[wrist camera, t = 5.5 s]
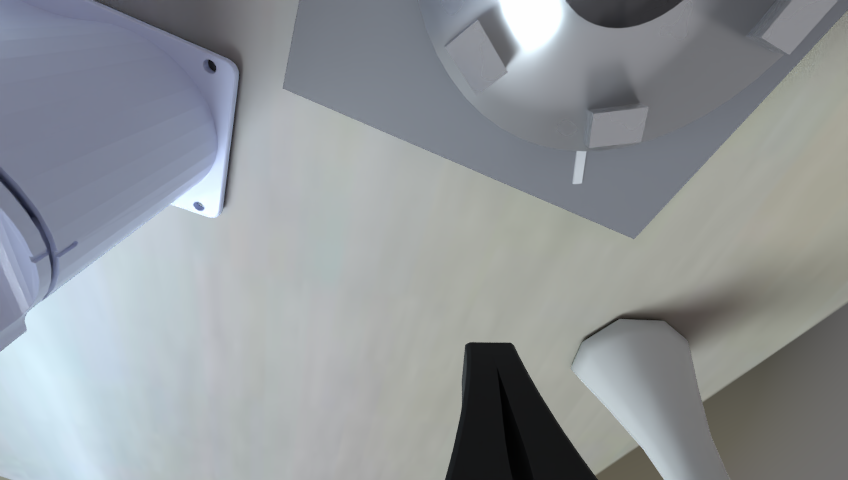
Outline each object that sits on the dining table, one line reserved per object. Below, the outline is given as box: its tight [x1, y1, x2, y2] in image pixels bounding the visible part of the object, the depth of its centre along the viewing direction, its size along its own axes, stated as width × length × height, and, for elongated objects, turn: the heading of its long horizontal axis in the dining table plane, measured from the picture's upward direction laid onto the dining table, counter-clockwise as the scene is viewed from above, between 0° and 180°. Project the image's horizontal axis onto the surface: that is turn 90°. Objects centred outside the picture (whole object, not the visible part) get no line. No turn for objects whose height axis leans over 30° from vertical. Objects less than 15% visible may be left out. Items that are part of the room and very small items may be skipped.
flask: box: [571, 319, 731, 480], centre depth 20 cm, size 7×7×10 cm
